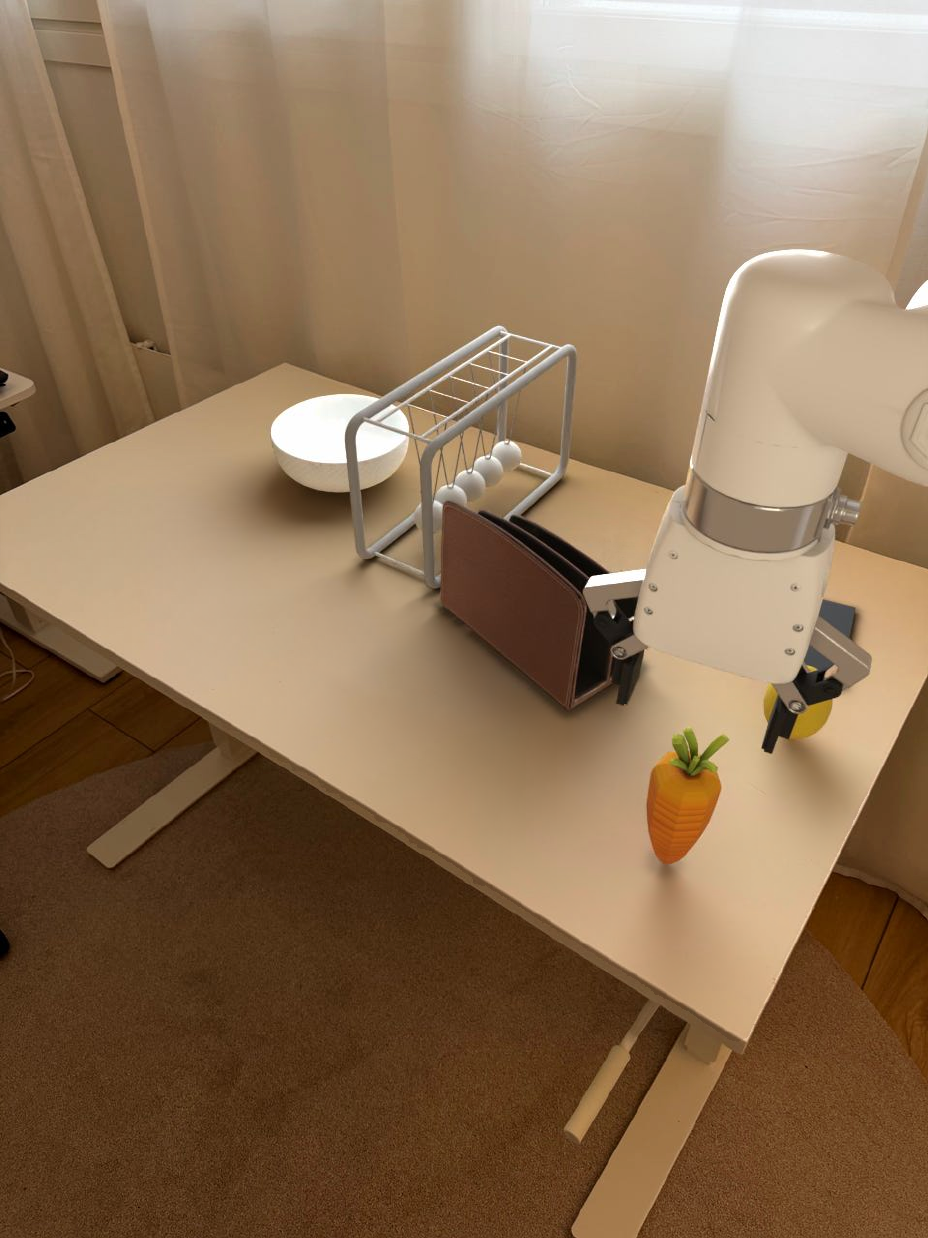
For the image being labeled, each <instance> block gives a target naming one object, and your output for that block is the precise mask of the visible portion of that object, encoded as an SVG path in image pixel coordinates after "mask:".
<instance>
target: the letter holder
mask: <svg viewBox="0 0 928 1238" xmlns="http://www.w3.org/2000/svg"><path fill="white" fill-rule="evenodd" d="M442 510H443V511H442V530H441V541H440V573H441V587H440V594H439V595H440V596H439V598H440V599H439V600H440V604H441V605H442V606H443V607H444V608H446V609H447V610H448V611H450V613H452V614H453V615H455V616H456V617H457V618H458V619H459V620H461V621H462V622H463V623H464V624H466V626H468V627H469V628H470V629H472V630H473V631H474V632H475V633H476V634H477V635H478V636H480V637H481V638H482V639H483V640H484V641H485V642H487V643H488V644H489V645H490V646H491V647H492V648H494V650H496V651H497V652H498V653H500V655H502V656H503V657H504V658H505V659H507V660H508V661H509V662H510V663H511V664H512V665H514V667H516V668H517V669H519V670H520V671H521V672H522V673H523V674H524V675H526V676H527V678H529V679H531V680H532V681H533V682H534V683H535V684H536V685H538V686H539V687H540V688H541V689H542V690H543V691H544V692H546V693H547V694H548V695H550V696H551V697H552V698H553V699H554V700H556V701H557V702H558V703H559V704H560V705H561V706H562V707H563V708H565V709H566V711H568V712H571V710H573V709H574V708H575V707H577V706H579V705H580V704H582V703H584V702H586V701H587V700H588V699H590V698H592V697H593V696H595V695H596V694H598V693H600V692H601V691H603V690H605V689H606V688H608V687H609V686H611V685H613V684H612V683H611V681H612V675H613V669H614V663H615V657H614V656H613V655H612V654H611V647H612V646H611V645H610V643H609V642H608V641H607V640H606V638H605V637H604V636H603V635H602V634H601V632H600V631H599V630H598V629H597V627H596V626H595V625H594V622H593V621H594V616H593V613H591V611H590V609H589V607H588V604H587V602H586V600H585V598H584V595H583V589H584V587H585V585H586V584H587V582H588V580H589V578H590V577H593V576H599V575H606V574H613V573H612V572H610V571H609V570H608V569H606V568H605V567H604V566H602V565H601V564H600V563H599V562H597V561H596V560H595V559H593V558H591V557H590V556H589V555H587V554H586V553H584V552H583V551H582V550H580V549H578V548H577V547H576V546H574V545H573V544H571V543H570V542H568V541H567V540H565V539H564V538H563V537H560V536H559V535H557V534H556V533H554V532H552V531H551V530H550V529H548V528H546V527H544V526H542V525H540V524H539V523H537V522H536V521H533V520H531V519H529V518H527V517H525V516H522V515H516V514H513V515H511V516H510V519H509V521H507V520H506V519H504V517H502V516H500V515H497V514H495V513H493V512H492V511H489V510H487V509H479V510H478V511H477V512H475V511H474V510H472V509H469V508H468V507H467V506H466V507H464V506H462V505H460V504H458V503H456V502H453V501H446V502H445V503H444V505H443V509H442ZM638 598H639V597H635V598H626V599H618V600H613V602H614V603H615V604H616V605H617V606H618V607H619V608H620V609H621V611H622V612H623V613H624V614H625V616H626V617H627V618H628V619H629V618H631V617H633V616H634V615H635V610H636V606H637V602H638ZM644 656H645V654H644V655H643V658H644Z"/></svg>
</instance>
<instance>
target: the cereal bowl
mask: <svg viewBox="0 0 928 1238" xmlns="http://www.w3.org/2000/svg"><path fill="white" fill-rule="evenodd" d="M379 399H380V398H377V397H372V396H368V395H361V394H348V393H347V394H346V393H345V394H344V393H343V394H331V395H324V396H317V397H313V398H310V399H307V400H304V401H301V402H299V403H296V404H294V405H292V406H291V407H289V408H287V409H286V410H284V411H283V412H281V413H280V414H279V415H278V416H277V417H276V418H275V419H274V421H273V422H272V424H271V426H270V442H271V447H272V450H273V454H274V457H275V459H276V461H277V463H278V465H279V467H280V469H282V471H283V472H285V474H286V475H288V476H289V478H290V479H293V480H294V481H295V482H296V483H298V484H300V485H302V486H304V487H308V488H309V489H313V490H315V491H322V492H326V493H327V492H328V493H348V492H349V493H350V489H349V480H348V470H347V460H346V450H345V431H346V428H347V425H348V423H349V421H350V420H351V418H352V417H353V416H354V415H355V414H356V413H358V412H360V411H361V410H363V409H364V408H366V407H368V406H369V405H371V404H372V403H374V402H376V401H377V400H379ZM395 407H396V406H395V405H393V404H392V405H390V406H389V407H387V408H386V409H384V410H382V411H381V412H379V413H378V414H376V415H375V416H373V417H371V418H370V419H371V420H374V421H375V420H377V419H378V418H380V417H381V416H383V415H384V414H386V413H388V412H389V411H391V410H392V409H394V408H395ZM380 423H382V424H385V425H388V426H391V427H394V428H397V429H400V430H403V431H406V432H408V433H410V427H409V422H408V419H407V417H406V415H405V414H404V413H403V412H402V411H401V409H400V410H398V411H396V412H395V413H393V414H392V415H390V416H389V417H387V418H386V419H384V420H383V421H381V422H380ZM409 444H410V437H408V436H405V435H402V434H399V433H396V432H393V431H390V430H387V429H385V428H382V427H379V426H376V425H373V424H370V423H367V422H364V423H362V424H361V425H360V427H359V429H358V431H357V434H356V448H357V459H358V469H359V480H360V491H362V490H365V489H369V488H371V487H374V486H376V485H379V484H380V483H382V482H384V481H385V480H387V479H389V478H390V477H391V476H392V475H394V473H395V472H397V470H398V469H399V468H400V466H401V465H402V464H403V462H404V460H405V458H406V455H407V451H408V449H409Z"/></svg>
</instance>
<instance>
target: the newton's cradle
mask: <svg viewBox="0 0 928 1238" xmlns="http://www.w3.org/2000/svg"><path fill="white" fill-rule="evenodd" d="M497 338H498V339H499V340H498V341H496V342H495V343H493V344H491V345H489V346H488V347H487V348H485V349H484V350H482V351H480V352H479V353H477V354H476V355H475V356H473V357H471V358H469V359H468V360H467V361H465V362H463V363H462V364H461V365H459V366H457V367H455V368H454V369H453V370H451V371H449V372H448V373H446V374H445V375H443V376H442V377H440V378H438V379H437V380H436V381H434V382H432V383H431V384H429V385H427V386H426V387H425V388H423V389H422V390H420V391H418V392H417V393H415V394H414V395H412V396H411V397H409V398H407V399H406V400H404V401H403V402H401V403H400V404H398V405H397V406H395V408H394V409H392V410H391V411H389V412H388V413H386V414H384V415H383V416H381V417H380V418H378V419H377V420H375V421H374V420H371V419H370V418H371V417H373V416H375V415H376V414H378V413H379V412H381V411H382V410H384V409H386V408H387V407H389V406H390V405H393V404H395V403H396V402H399V400H402V399H403V398H405V397H406V396H407V395H409V394H410V393H412V392H414V391H415V390H417V389H419V388H420V387H422V386H423V385H424V384H426V383H428V382H429V381H431V380H432V379H434V378H435V377H438V376H439V375H440V374H442V373H444V372H445V371H447V370H448V369H450V368H452V367H453V366H455V365H456V364H457V363H460V361H462V360H464V359H465V358H467V357H468V356H470V355H471V354H473V353H475V352H477V351H478V350H479V349H481V348H482V347H485V346H486V345H487V344H488V343H490V342H492V341H494V340H495V339H497ZM511 338H512V339H516V340H519V341H523V342H526V343H530V344H534V345H538V346H540V347H545V348H544V349H543V350H542V351H540V352H539V353H538V354H536V355H535V356H533V357H532V358H530V359H529V360H527V361H526V360H522V359H518V358H515V357H511V356H509V353H510V352H509V351H510V350H509V349H510V339H511ZM498 346H499V350H498V352H494V351H492V350H493V349H495V348H496V347H498ZM551 350H556V351H554V352H553V353H552V354H550V355H549V356H548V357H546V358H545V359H543V360H542V361H541V362H539V363H537V364H536V365H535V366H534V367H532V368H530V369H529V370H528V371H526V368H527V367H528V366H530V365H531V364H533V363H534V362H535V361H537V360H538V359H539V358H541V357H543V356H544V355H545V354H547V353H548V352H550V351H551ZM487 353H488V357H489V363H490V368H488V367H484V366H481V365H477V364H474V363H473V362H475V361H476V360H478V359H479V358H481V357H482V356H484V355H485V354H487ZM491 354H495V355H498V370H495V369H494V368H493V361H492V355H491ZM566 357H567V364H566V373H565V374H566V377H565V386H564V387H565V390H564V402H563V412H562V413H563V414H562V427H561V439H560V440H561V441H560V452H559V453H560V454H559V461H558V465H557V467H556V470H555V471H554V472H553V473H551V472H548V471H546V470H542V469H539V468H536V467H534V466H531V465H528V464H526V463H525V464H524V463H521V462H522V457H523V456H522V450H521V448H520V447H519V446H518V445H517V443H515V442H513V441H511V440H512V439H511V438H512V434H513V429H514V425H515V421H516V417H517V411H518V406H519V401H520V397H521V392H522V389H524V388H525V387H526V386H527V387H528V385H529V384H531V383H532V382H534V381H535V380H536V379H538V378H539V377H541V376H542V375H543V374H544V373H546V372H547V371H549V370H550V369H551V368H553V367H554V366H555V365H557V364H558V363H559V362H561V361H562V360H564V359H565V358H566ZM509 359H512V360H516V361H520V362H523V363H524V364H522V365H521V366H519V367H518V368H516V369H514V370H513V371H511V372H510V373H509ZM467 366H469V367H470V375H471V381H467V380H464V379H461V378H458V377H454V376H453V375H455V374H457V373H458V372H459V371H461V370H463V369H465V368H466V367H467ZM472 366H475V367H478V368H481V369H484V370H489V371H491V376H492V380H493V385H492V386H490V387H488V386H485V385H481V384H477V383H475V379H474V373H473V367H472ZM577 366H578V351H577V349H576V347H575V346H574V345H572V344H569V343H568V344H564V345H563V346H558V345H554V344H550V343H547V342H543V341H540V340H537V339H536V340H535V339H532V338H528V337H526V336H525V337H524V336H521V335H516V334H514V333H510V332H508V330H507V329H506V327H504V326H501V325H497V326H494V327H493V328H491V329H489V330H488V331H486V332H484V333H483V334H481V335H479V336H478V337H476V338H475V339H473V340H472V341H470V342H468V343H467V344H465V345H463V346H462V347H460V348H459V349H457V350H455V351H454V352H453V353H450V354H449V355H448V356H446V357H444V358H443V359H441V360H439V361H438V362H436V363H435V364H433V365H431V366H429V367H428V368H427V369H425V370H424V371H422V372H420V373H419V374H417V375H416V376H414V377H413V378H411V379H409V380H407V381H406V382H405V383H403V384H401V385H399V386H398V387H396V388H395V389H393V390H392V391H390V392H388V393H387V394H385V395H383V396H382V397H380V398H378V399H379V400H377V401H376V402H374V403H372V404H371V405H369V406H368V407H366V408H364V409H363V410H361V411H360V412H358V413H356V414H355V415H354V416H353V417H352V418H351V420H350V421H349V423H348V425H347V428H346V431H345V450H346V460H347V470H348V480H349V489H350V492H349V497H350V507H351V508H350V509H351V518H352V519H351V520H352V526H353V527H352V528H353V537H354V547H355V551H356V554H357V555H358V556H359V557H360V558H361V559H364V560H370V559H372V558H374V557H379V558H381V559H383V560H385V561H387V562H390V563H392V564H395V565H397V566H399V567H402V568H404V569H406V570H409V571H410V572H413V573H416V574H418V575H421V576H423V579H424V583H425V584H426V586H427V587H428V588H430V589H434V590H435V589H439V588H441V572H440V573H439V574H437V576H436V567H435V565H436V564H435V537H434V535H435V534H437V533H440V532H442V511H443V510H442V509H443V505H444V503H445V502H446V501H453V502H456V503H458V504H460V505H462V506H464V507H466V508H467V505H468V503H474V502H477V501H478V500H480V499H481V498H482V497H483V495H484V494H485V492H486V488H492V487H495V486H497V485H498V484H499V483H500V482H501V480H502V478H503V475H504V473H508V472H510V473H511V472H512V471H515V470H516V469H517V468H518V467H522V468H524V469H527V470H530V471H533V472H536V473H539V474H542V475H545V476H548V478H547V479H546V480H544V481H543V482H542V483H541V484H540V485H538V487H536V489H535V490H533V491H532V492H531V493H530V494H528V495H527V496H526V497H525V498H524V499H523V500H522V501H520V503H518V504H517V505H516V506H515V507H514V508H513V509H511V511H509V512H508V513H507V514H506V515H505V516H504V517H503V518H504V519H506V520H507V521H509V519H510V516H511V515H513V514H516V515H520V516H522V514H524V513H525V512H526V511H527V510H528V509H529V508H530V507H532V506H533V505H534V504H535V503H536V502H538V500H539V499H540V498H541V497H543V496H544V495H545V494H546V493H548V492H549V490H550V489H552V488H553V487H554V486H556V484H557V483H558V482H560V481H561V479H562V478H563V477H564V475H565V473H566V471H567V469H568V467H569V466H568V465H569V461H570V453H571V451H570V450H571V441H572V440H571V439H572V430H573V429H572V428H573V415H574V405H575V404H574V403H575V393H576V392H575V391H576V381H577V370H578V369H577ZM522 370H523V372H522V373H523V374H522V375H521V376H519V377H518V378H517V379H515V380H514V381H512V382H511V383H510V384H509V380H510V379H512V378H513V377H514V376H515V375H517V374H518V373H520V372H521V371H522ZM494 373H498V382H496V381H495V374H494ZM447 379H450V380H449V381H450V385H451V386H450V387H451V391H452V396H451V395H448V394H444V393H441V392H438V391H436V390H432V389H433V388H435V387H436V386H438V385H439V384H441V383H442V382H444V381H445V380H447ZM453 379H455V380H458V381H462V382H465V383H468V384H471V385H472V386H473V387H472V388H473V393H474V398H473V399H472V400H471V401H466V400H464V399H460V398H457V397H455V389H454V383H453ZM476 386H478V387H482V388H485V389H486V390H485V391H483V392H482V393H480V394H479V395H478V396H477V391H476ZM497 389H498V390H497ZM493 391H494V392H495V394H494V395H493V396H491V397H490V398H488V397H489V394H490V393H491V392H493ZM427 392H429V397H430V403H431V408H432V411H430V410H427V409H425V408H421V407H418V406H416V405H412V404H410V403H412V402H413V401H415V400H417V399H418V398H419V397H421V396H423V395H424V394H425V393H427ZM432 393H435V394H439V395H442V396H445V397H448V398H452V399H453V403H454V410H455V411H454V412H453V413H452V414H450V415H449V416H446V415H443V414H440V413H436V412H435V406H434V401H433V395H432ZM517 393H518V396H517V401H516V406H515V410H514V414H513V420H512V424H511V429H510V433H509V439H508V440H506V439H507V416H508V400H509V399H510V398H512V397H513V396H514V395H516V394H517ZM485 396H486V397H485ZM484 397H485V401H484V402H483V403H482V404H480V405H478V401H480V400H482V399H483V398H484ZM456 400H458V401H461V402H464V403H466V404H465V405H463V406H462V407H460V408H459V409H458V408H457V401H456ZM474 404H475V406H476V408H474V409H473V410H471V411H470V412H469V413H468V411H469V408H470V407H471V406H473V405H474ZM404 407H407V410H408V414H409V420H410V424H411V430H412V433H411V432H409V433H408V432H406V431H403V430H400V429H397V428H394V427H391V426H388V425H385V424H382V423H380V422H381V421H383V420H384V419H386V418H387V417H389V416H390V415H392V414H393V413H395V412H396V411H398V410H400V411H401V409H402V408H404ZM410 407H412V408H416V409H419V410H422V411H425V412H428V413H431V414H433V417H434V418H433V419H434V424H435V426H433V427H432V428H430V429H429V430H427V431H426V432H425V433H423V434H421V435H417V434H416V433H415V428H414V424H413V419H412V413H411V409H410ZM496 408H497V421H496V425H495V430H494V434H493V438H492V439H493V440H492V445H491V449H490V453H488V454H486V449H485V443H484V437H483V431H482V430H483V429H482V428H483V423H484V418H485V417H486V416H487V415H488V414H489V413H491V412H493V411H494V410H496ZM463 412H465V415H464V416H463V417H462V418H459V415H460V414H461V413H463ZM436 415H437V416H440V417H442V418H445V419H443V420H441V421H440V422H439V423H437V417H436ZM454 418H456V420H457V421H456V422H455V423H453V424H452V425H450V427H448V423H449V422H450V421H452V420H453V419H454ZM364 422H367V423H370V424H373V425H376V426H379V427H382V428H385V429H387V430H390V431H393V432H396V433H399V434H402V435H405V436H408V437H409V439H410V438H411V439H414V445H415V450H416V455H417V459H418V464H419V482H420V503H419V505H417V507H416V508H415V509H414V512H413V513H412V514H409V516H408V517H406V518H405V519H404V520H403V521H401V522H400V523H399V524H397V525H396V526H395V527H394V528H393V529H391V530H390V531H388V532H387V533H386V534H384V535H383V536H382V537H381V538H379V539H378V540H377V541H376V542H374V543H373V544H371V546H370V547H368V548H367V547H366V546H367V545H366V537H365V536H366V535H365V525H364V516H363V515H364V514H363V503H362V502H363V501H362V490H360V480H359V469H358V459H357V448H356V434H357V431H358V429H359V427H360V425H361V424H362V423H364ZM477 422H478V424H479V432H478V437H477V442H476V446H475V451H474V456H473V462H472V467H470V468H469V469H468V465H467V460H466V454H465V447H464V442H463V438H464V433H465V431H467V430H468V429H469V428H471V427H472V426H474V425H475V424H476V423H477ZM443 426H444V430H443V431H442V432H441V433H439V429H440V428H442V427H443ZM447 427H448V428H447ZM434 432H436V436H435V437H433V438H432V439H429V438H427V437H429V436H430V435H432V434H433V433H434ZM458 436H459V437H460V443H459V448H458V453H457V459H456V465H455V470H454V476H453V481H452V482H451V483H450V484H449V482H448V476H447V470H446V466H445V465H446V464H445V459H444V455H443V450H444V446H446V445H447V444H449V443H450V442H452V441H453V440H454V439H455V438H457V437H458ZM496 436H497V437H496ZM480 438H481V444H482V449H483V456H480V457H478V458H477V453H478V448H479V443H480ZM495 440H496V441H495ZM417 441H419V442H423V443H426V444H427V445H426V446H425V448H424V450H423V452H422V454H421V457H420V453H419V448H418V443H417ZM495 442H496V443H495ZM461 450H462V455H463V461H464V467H465V469H464V470H463V471H461V472H459V473H458V474H457V471H458V465H459V460H460V456H461ZM438 451H440V454H439V460H438V467H437V470H436V471H437V472H436V478H435V484H434V491H433V475H432V474H433V471H432V469H433V466H432V465H433V462H434V459H435V457H436V454H437V452H438ZM476 458H477V459H476ZM441 461H442V467H443V471H444V477H445V482H446V485H443V486H441V487H440V488H439V489H438V490H437V486H438V480H439V473H440V468H441ZM413 526H416V528H418V530H420V531H421V532H422V534H421V535H422V555H423V558H422V559H423V571H422V570H420V569H418V568H415V567H413V566H411V565H408V564H406V563H403V562H402V561H399V560H397V559H394V558H392V557H389V556H387V555H384V554H382V553H381V552H382V551H383V550H385V549H386V548H387V547H388V546H390V544H392V543H393V542H394V541H396V540H397V539H398V538H400V537H401V536H402V535H403V534H404V533H406V532H407V531H408V530H410V529H411V528H412V527H413Z"/></svg>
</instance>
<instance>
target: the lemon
mask: <svg viewBox="0 0 928 1238" xmlns="http://www.w3.org/2000/svg"><path fill="white" fill-rule="evenodd" d="M807 667H808V668H809V670H810V672H813V671H816V670H817V669H816V668H814V667H811V666H808V665H807ZM777 695H778V693H777V692H776V690H775V689H774V687H773V685H772V684H771V683H768V686H767V688H766V691H765V693H764V697H763V704H762V706H763V715H764V717H765V720H766V722H767V723H768V722H769V718H770V715H771V712H772V710H773V707H774V704H775V701H776V698H777ZM833 700H834V699H831V700H827V701H824V702H820V703H817V704H813V705H810V706H808V707H807V710H806V711H805V712H804V713H802V714H798V717H797V720H796V722H795V725H794V727H793V730H792V733H791V735H790V738H789V739H791V740H802V739H807V738H809V737H812V736H813V735H815V734H817V733H818V732H820V730H821V729H822V728H823V727H824V726H825V725H826V723H827V722H828V720H829V717H830V716H831V712H832V710H833V704H834V703H833V702H834V701H833Z"/></svg>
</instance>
